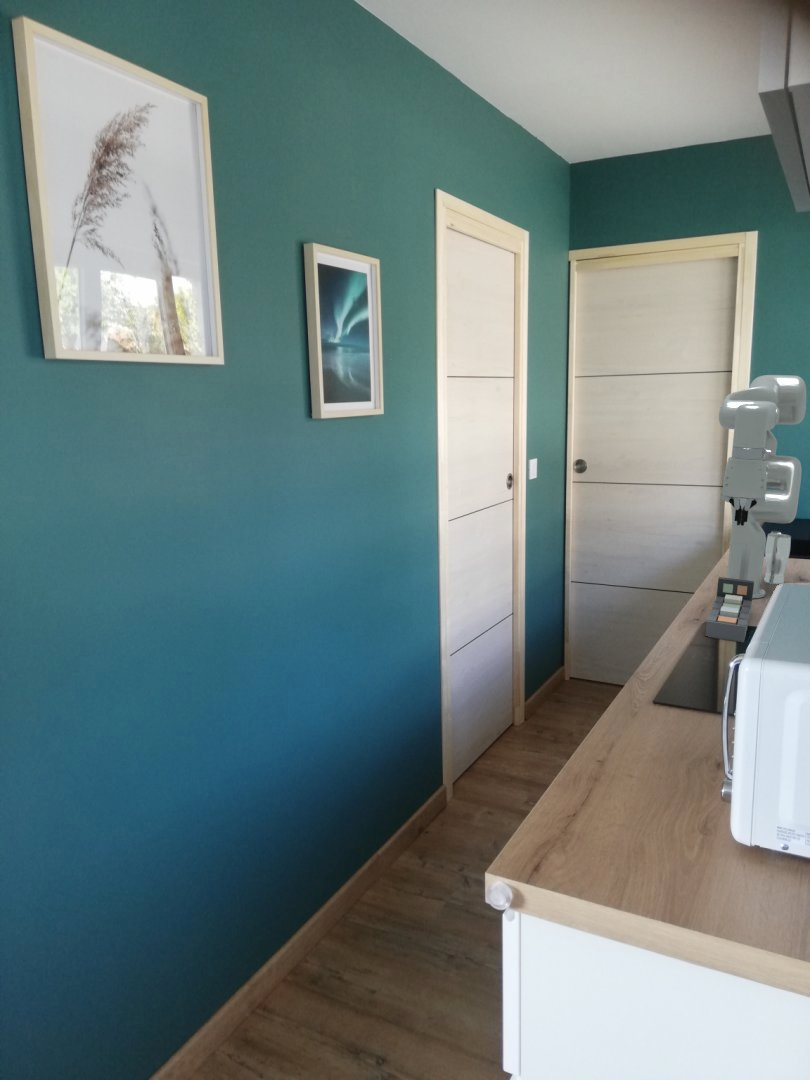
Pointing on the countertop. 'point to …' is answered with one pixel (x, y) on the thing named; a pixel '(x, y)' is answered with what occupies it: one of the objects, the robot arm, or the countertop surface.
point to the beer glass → (776, 557)
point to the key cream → (733, 599)
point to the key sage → (731, 606)
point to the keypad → (737, 589)
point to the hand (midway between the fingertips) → (740, 524)
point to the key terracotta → (727, 620)
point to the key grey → (729, 611)
